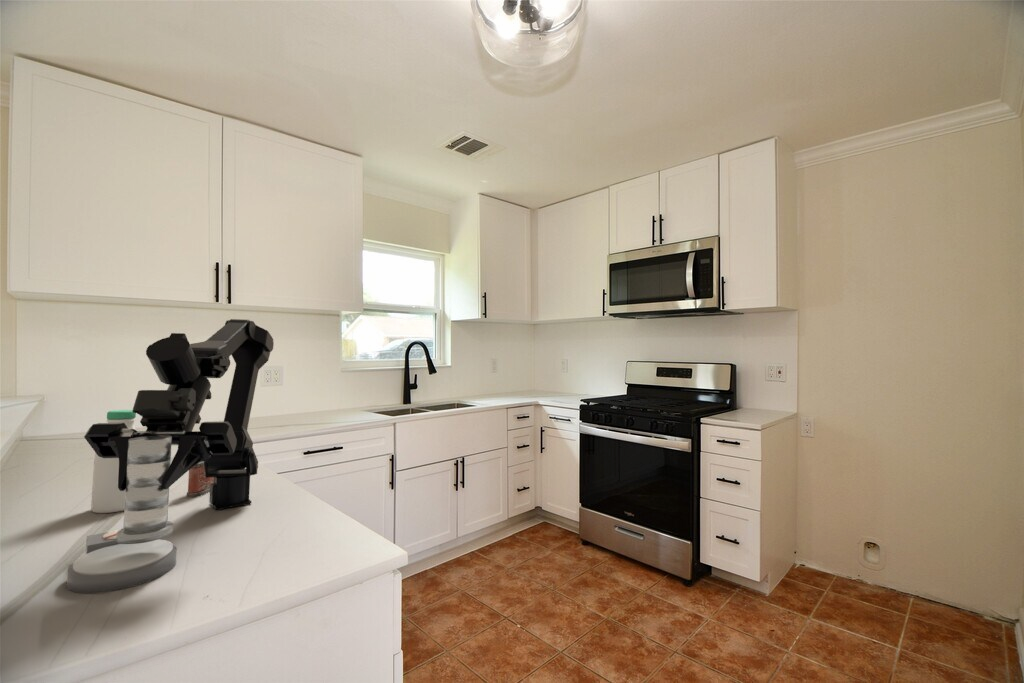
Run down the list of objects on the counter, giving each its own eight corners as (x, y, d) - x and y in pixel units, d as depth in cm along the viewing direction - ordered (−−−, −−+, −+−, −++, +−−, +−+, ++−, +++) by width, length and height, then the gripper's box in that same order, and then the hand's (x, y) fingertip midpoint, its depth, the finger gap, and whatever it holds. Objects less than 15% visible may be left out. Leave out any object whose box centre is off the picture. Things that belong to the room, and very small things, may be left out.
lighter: (203, 487, 110) (205, 446, 110) (218, 487, 110) (220, 446, 111) (182, 497, 102) (184, 452, 102) (198, 497, 102) (200, 452, 103)
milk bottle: (148, 505, 96) (153, 410, 97) (103, 516, 89) (109, 413, 90) (128, 500, 99) (133, 408, 100) (82, 510, 92) (88, 411, 93)
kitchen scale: (165, 540, 78) (166, 519, 78) (182, 573, 66) (183, 548, 66) (67, 560, 69) (69, 537, 70) (66, 603, 58) (67, 574, 58)
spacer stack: (177, 525, 71) (182, 433, 71) (165, 540, 65) (170, 440, 65) (126, 530, 68) (131, 435, 69) (108, 546, 62) (114, 443, 63)
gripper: (96, 369, 69) (34, 459, 58) (233, 371, 73) (201, 454, 62) (124, 415, 76) (74, 502, 65) (247, 414, 81) (220, 496, 70)
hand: (142, 488), depth 65 cm, fingers closed on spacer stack, 5 cm apart
